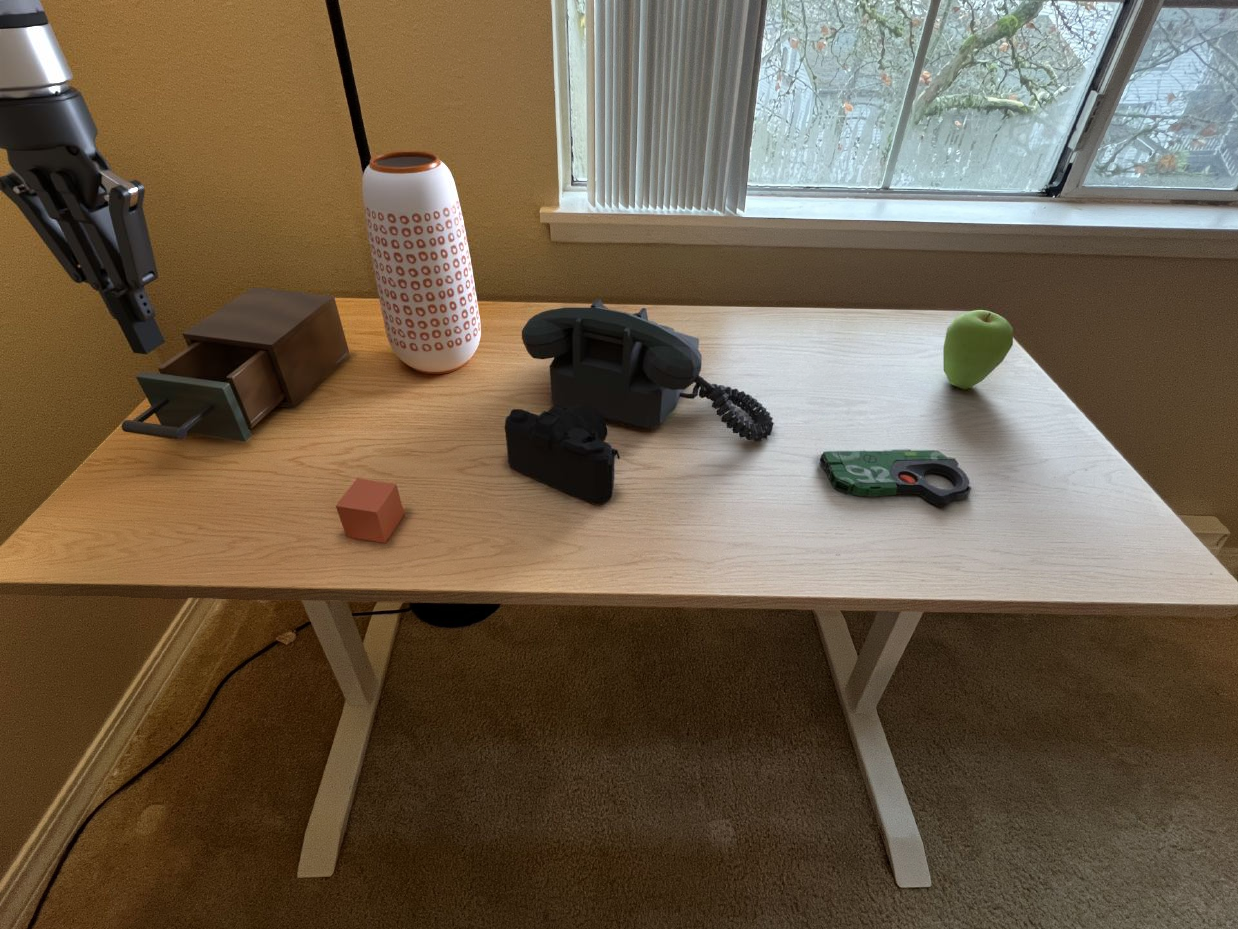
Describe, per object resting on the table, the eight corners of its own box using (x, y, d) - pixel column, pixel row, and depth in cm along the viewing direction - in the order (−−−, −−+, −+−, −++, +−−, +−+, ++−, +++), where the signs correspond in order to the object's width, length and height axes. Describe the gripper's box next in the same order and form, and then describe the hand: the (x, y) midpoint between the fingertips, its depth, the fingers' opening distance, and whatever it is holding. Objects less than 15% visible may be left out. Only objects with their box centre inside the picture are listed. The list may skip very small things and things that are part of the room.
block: (385, 543, 68) (376, 512, 65) (345, 536, 68) (335, 505, 65) (404, 514, 71) (396, 483, 68) (366, 508, 72) (357, 477, 69)
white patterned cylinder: (374, 367, 95) (322, 162, 77) (436, 330, 104) (403, 140, 86) (443, 392, 90) (406, 180, 72) (502, 352, 99) (481, 155, 81)
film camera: (644, 467, 78) (648, 406, 73) (600, 513, 72) (601, 450, 66) (544, 426, 84) (541, 367, 79) (496, 465, 78) (488, 403, 72)
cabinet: (294, 408, 86) (271, 344, 80) (210, 396, 88) (181, 333, 82) (350, 355, 97) (334, 295, 91) (274, 345, 99) (253, 286, 93)
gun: (845, 502, 72) (819, 447, 80) (841, 511, 73) (816, 456, 81) (985, 500, 73) (946, 446, 81) (980, 509, 74) (942, 455, 82)
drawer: (211, 474, 74) (184, 418, 69) (124, 460, 76) (91, 405, 71) (307, 384, 89) (290, 333, 84) (233, 374, 91) (212, 324, 86)
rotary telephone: (790, 381, 94) (812, 284, 85) (760, 468, 79) (782, 360, 69) (581, 337, 103) (580, 244, 94) (517, 406, 88) (508, 304, 78)
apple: (928, 364, 99) (955, 294, 92) (987, 376, 97) (1019, 304, 90) (928, 393, 93) (957, 320, 86) (992, 405, 91) (1026, 331, 83)
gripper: (128, 85, 54) (229, 337, 69) (-6, 76, 56) (121, 324, 71) (53, 102, 48) (181, 372, 63) (-94, 92, 50) (64, 358, 65)
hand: (149, 347), depth 67 cm, fingers closed
